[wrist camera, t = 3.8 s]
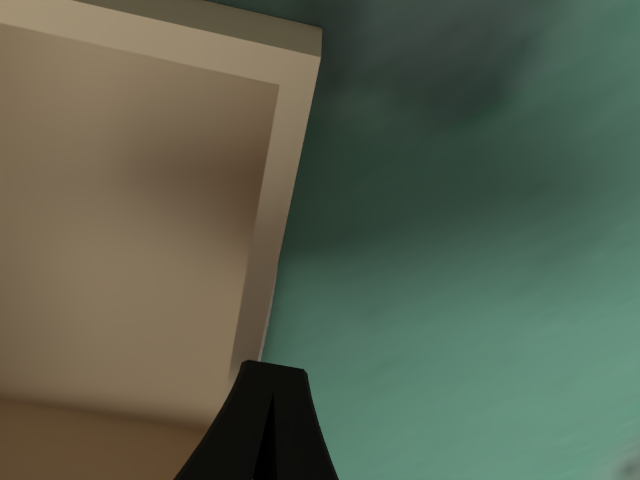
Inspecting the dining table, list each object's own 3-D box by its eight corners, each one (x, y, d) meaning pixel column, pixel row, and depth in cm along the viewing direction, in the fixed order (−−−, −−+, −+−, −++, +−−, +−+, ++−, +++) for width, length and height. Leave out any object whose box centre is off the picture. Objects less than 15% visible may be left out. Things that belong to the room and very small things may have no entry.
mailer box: (241, 435, 19) (222, 544, 15) (-51, 388, 18) (-143, 494, 14) (326, 29, 12) (326, 58, 9) (-127, -77, 11) (-327, -92, 8)
